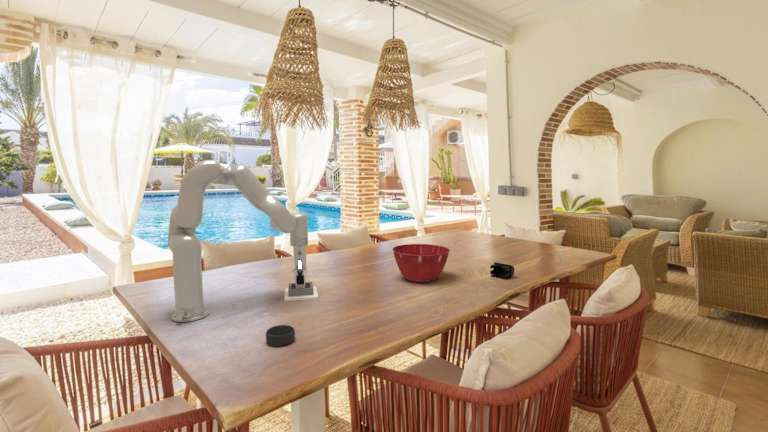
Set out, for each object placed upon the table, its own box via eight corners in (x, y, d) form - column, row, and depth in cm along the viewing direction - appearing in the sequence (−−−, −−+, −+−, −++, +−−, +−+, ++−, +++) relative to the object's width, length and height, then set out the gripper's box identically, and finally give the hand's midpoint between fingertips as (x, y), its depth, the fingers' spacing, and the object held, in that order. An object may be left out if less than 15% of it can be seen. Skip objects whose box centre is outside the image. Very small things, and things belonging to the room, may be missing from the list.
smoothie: (300, 293, 173) (299, 261, 172) (289, 291, 176) (289, 259, 175) (311, 289, 179) (310, 258, 177) (300, 287, 182) (299, 257, 180)
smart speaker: (297, 335, 133) (296, 323, 133) (292, 347, 124) (291, 334, 124) (270, 336, 133) (269, 324, 133) (263, 347, 124) (262, 335, 124)
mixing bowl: (460, 278, 203) (461, 248, 201) (426, 290, 182) (426, 257, 180) (416, 269, 222) (416, 241, 220) (380, 279, 201) (380, 249, 200)
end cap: (514, 277, 203) (514, 264, 203) (506, 280, 199) (507, 266, 198) (497, 274, 211) (497, 261, 210) (489, 276, 206) (489, 263, 205)
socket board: (318, 298, 172) (317, 289, 171) (284, 301, 169) (283, 292, 168) (316, 288, 187) (316, 280, 187) (285, 290, 184) (284, 282, 184)
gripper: (308, 244, 168) (309, 287, 170) (307, 238, 184) (308, 277, 186) (290, 245, 166) (291, 288, 168) (290, 239, 183) (291, 277, 185)
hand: (300, 281), depth 177 cm, fingers closed on smoothie, 6 cm apart
